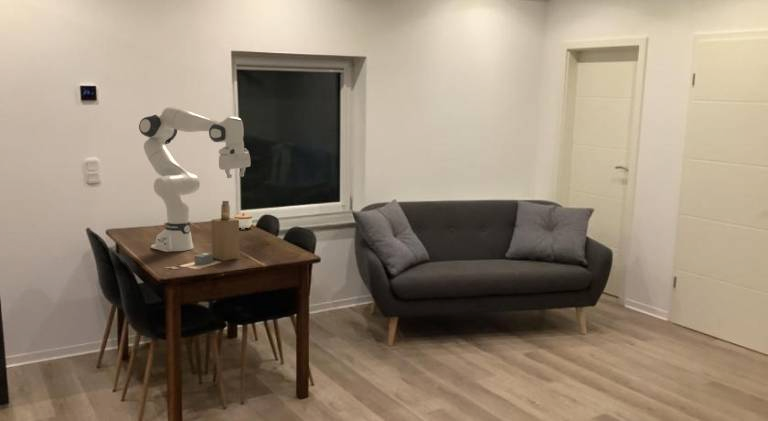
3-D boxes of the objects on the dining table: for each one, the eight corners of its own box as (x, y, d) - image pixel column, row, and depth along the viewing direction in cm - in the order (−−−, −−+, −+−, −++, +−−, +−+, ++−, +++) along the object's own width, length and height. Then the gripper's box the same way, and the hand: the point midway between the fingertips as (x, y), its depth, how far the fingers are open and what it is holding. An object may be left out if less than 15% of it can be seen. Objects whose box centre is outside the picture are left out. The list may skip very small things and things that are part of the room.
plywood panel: (178, 267, 311) (178, 265, 311) (203, 260, 325) (203, 258, 325) (198, 271, 306) (198, 269, 306) (222, 264, 320) (222, 261, 320)
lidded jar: (252, 229, 403) (252, 214, 402) (234, 230, 401) (234, 214, 399) (252, 226, 414) (251, 211, 412) (234, 226, 411) (234, 211, 410)
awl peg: (219, 219, 325) (219, 201, 324) (224, 218, 329) (224, 200, 327) (226, 220, 324) (226, 201, 322) (231, 219, 327) (231, 201, 326)
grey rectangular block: (194, 263, 315) (194, 255, 314) (205, 260, 321) (204, 252, 320) (202, 265, 313) (202, 256, 312) (213, 262, 319) (212, 253, 318)
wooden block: (228, 255, 336) (227, 216, 333) (240, 259, 330) (239, 219, 327) (211, 259, 329) (210, 219, 326) (223, 262, 322) (222, 222, 319)
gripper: (243, 148, 344) (244, 174, 347) (216, 150, 326) (217, 178, 329) (253, 148, 341) (253, 175, 344) (226, 151, 324) (226, 179, 326)
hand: (235, 177), depth 336 cm, fingers open, 8 cm apart
